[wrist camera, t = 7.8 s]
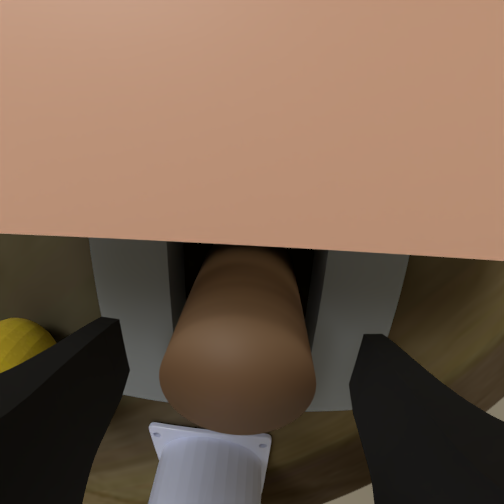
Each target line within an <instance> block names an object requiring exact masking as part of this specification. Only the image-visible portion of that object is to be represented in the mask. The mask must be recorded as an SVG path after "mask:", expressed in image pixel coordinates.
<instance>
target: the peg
mask: <svg viewBox="0 0 504 504" xmlns="http://www.w3.org/2000/svg"><path fill="white" fill-rule="evenodd" d="M159 381H160V386H161V389H162V392H163V394H164V396H165V398H166V399H167V401H168V402H169V404H170V405H171V406H172V407H173V408H174V409H175V410H176V411H177V412H178V413H179V414H180V415H182V416H183V417H184V418H186V419H187V420H189V421H191V422H192V423H194V424H196V425H198V426H201V427H203V428H206V429H208V430H211V431H215V432H219V433H224V434H231V435H255V434H261V433H266V432H270V431H274V430H277V429H279V428H282V427H284V426H286V425H288V424H290V423H291V422H293V421H295V420H296V419H297V418H298V417H300V416H301V415H302V414H303V413H304V412H305V411H306V410H307V408H308V407H309V406H310V404H311V402H312V400H313V398H314V395H315V392H316V376H315V370H314V365H313V360H312V355H311V350H310V345H309V339H308V334H307V329H306V325H305V320H304V315H303V310H302V305H301V300H300V296H299V291H298V286H297V282H296V277H295V272H294V268H293V263H292V260H291V258H290V255H289V253H288V252H287V250H286V249H285V248H284V247H269V246H250V245H232V244H213V246H212V247H211V248H210V249H209V251H208V253H207V255H206V257H205V259H204V261H203V264H202V266H201V268H200V270H199V273H198V275H197V277H196V280H195V282H194V284H193V287H192V289H191V292H190V294H189V296H188V299H187V301H186V303H185V306H184V308H183V311H182V313H181V315H180V318H179V320H178V323H177V325H176V327H175V330H174V332H173V335H172V337H171V340H170V342H169V345H168V347H167V350H166V352H165V355H164V357H163V360H162V362H161V365H160V370H159Z"/></svg>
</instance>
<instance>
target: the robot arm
mask: <svg viewBox="0 0 504 504" xmlns="http://www.w3.org/2000/svg"><path fill="white" fill-rule="evenodd" d="M129 372H130V368H129V363H128V359H127V354H126V350H125V345H124V340H123V335H122V330H121V325H120V320H119V319H115V318H108V317H100V318H98V319H96V320H94V321H93V322H91V323H89V324H87V325H86V326H84V327H82V328H81V329H79V330H77V331H76V332H74V333H73V334H71V335H69V336H68V337H66V338H64V339H63V340H61V341H59V342H58V343H56V344H54V345H53V346H51V347H50V348H48V349H46V350H44V351H42V352H41V353H39V354H37V355H35V356H33V357H32V358H30V359H28V360H26V361H25V362H23V363H21V364H19V365H17V366H15V367H13V368H11V369H8V370H6V371H4V372H2V373H0V504H82V502H83V497H84V493H85V489H86V484H87V481H88V477H89V473H90V470H91V466H92V463H93V460H94V457H95V455H96V452H97V450H98V448H99V445H100V443H101V441H102V439H103V437H104V434H105V432H106V430H107V428H108V426H109V424H110V421H111V419H112V417H113V415H114V413H115V411H116V408H117V406H118V404H119V402H120V400H121V398H122V395H123V392H124V389H125V386H126V382H127V379H128V375H129ZM349 390H350V397H351V403H352V410H353V414H354V418H355V421H356V425H357V428H358V432H359V435H360V439H361V442H362V446H363V449H364V453H365V456H366V460H367V464H368V467H369V471H370V476H371V480H372V486H373V494H374V503H375V504H504V422H503V421H501V420H499V419H497V418H495V417H493V416H491V415H490V414H488V413H486V412H484V411H483V410H481V409H480V408H478V407H476V406H475V405H473V404H471V403H470V402H468V401H467V400H465V399H464V398H462V397H461V396H459V395H458V394H456V393H455V392H454V391H452V390H451V389H450V388H448V387H447V386H446V385H444V384H443V383H442V382H440V381H439V380H438V379H437V378H435V377H434V376H433V375H432V374H430V373H429V372H428V371H427V370H426V369H424V368H423V367H422V366H421V365H420V364H418V363H417V362H416V361H415V360H414V359H413V358H411V357H410V356H409V355H408V354H407V353H406V352H404V351H403V350H402V349H401V348H400V347H398V346H397V345H396V344H395V343H394V342H392V341H391V340H390V339H389V338H387V337H386V336H385V335H383V334H363V338H362V342H361V345H360V349H359V352H358V356H357V359H356V362H355V366H354V369H353V372H352V375H351V379H350V382H349ZM149 431H150V434H151V437H152V440H153V443H154V446H155V450H156V453H157V455H158V458H159V464H158V468H157V471H156V475H155V479H154V483H153V487H152V490H151V494H150V498H149V502H148V504H261V493H262V490H263V485H264V480H265V475H266V469H267V464H268V458H269V453H270V447H271V436H270V435H269V434H266V433H261V434H255V435H231V434H224V433H219V432H215V431H211V430H208V429H200V428H191V427H184V426H176V425H170V424H163V423H157V422H152V423H151V424H150V426H149Z"/></svg>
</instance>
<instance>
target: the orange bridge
mask: <svg viewBox="0 0 504 504" xmlns="http://www.w3.org/2000/svg"><path fill="white" fill-rule="evenodd" d="M0 233H3V234H26V235H49V236H72V237H93V238H114V239H135V240H155V241H175V242H194V243H213V244H232V245H250V246H269V247H286V248H304V249H321V250H338V251H355V252H372V253H388V254H405V255H421V256H436V257H452V258H467V259H482V260H497V261H504V0H0Z"/></svg>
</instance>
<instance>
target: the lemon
mask: <svg viewBox="0 0 504 504" xmlns="http://www.w3.org/2000/svg"><path fill="white" fill-rule="evenodd" d="M54 344H56V341H55V340H54V338H53V337H52V336H51V334H50V333H49V332H48V331H46V330H45V329H44V328H43V327H42V326H40V325H39V324H37V323H35V322H33V321H30V320H27V319H23V318H9V319H5V320H2V321H0V373H2V372H4V371H6V370H8V369H11V368H13V367H15V366H17V365H19V364H21V363H23V362H25V361H26V360H28V359H30V358H32V357H33V356H35V355H37V354H39V353H41V352H42V351H44V350H46V349H48V348H50V347H51V346H53V345H54Z"/></svg>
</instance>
